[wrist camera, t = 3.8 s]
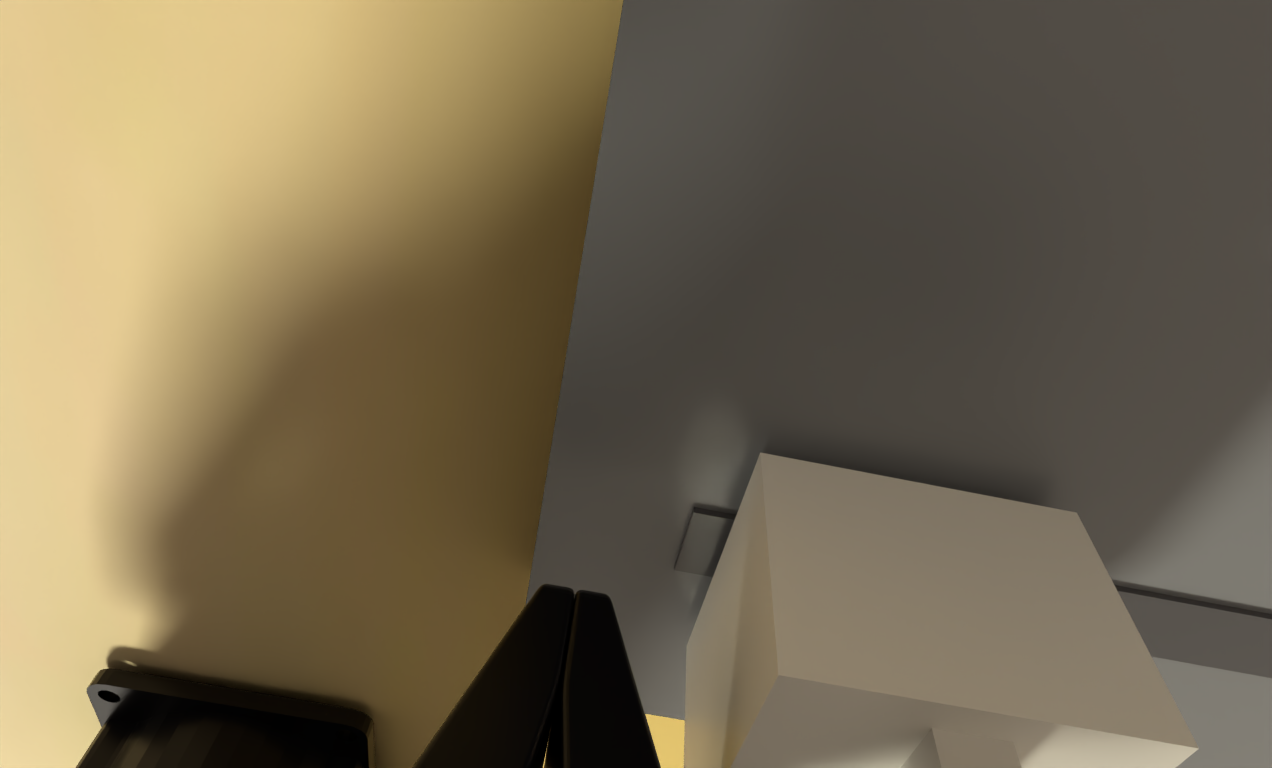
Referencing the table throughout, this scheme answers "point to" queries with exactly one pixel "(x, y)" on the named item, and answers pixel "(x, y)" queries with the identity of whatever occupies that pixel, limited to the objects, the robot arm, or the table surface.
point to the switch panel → (934, 303)
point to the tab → (916, 635)
